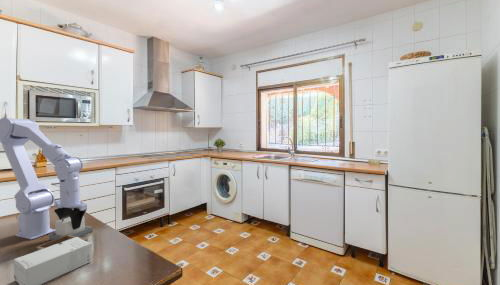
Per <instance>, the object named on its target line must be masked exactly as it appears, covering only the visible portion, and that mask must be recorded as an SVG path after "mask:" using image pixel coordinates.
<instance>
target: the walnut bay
mask: <svg viewBox="0 0 500 285" xmlns="http://www.w3.org/2000/svg"><path fill="white" fill-rule="evenodd" d="M75 237H76V236H71V235H65V236H62V237H60V238H57V239H54V240H52V241H50V240H49V241H47V242H44V243H41V244H39V245H36V246H35V247H34V252H36V251H38V250H41V249H44V248H47V247H49V246H52V245H55V244H58V243H61V242H63V241H66V240H69V239H72V238H75ZM79 238H80V239H82V240H84V241H87V242H89V240H88V238H84V237H79Z"/></svg>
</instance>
